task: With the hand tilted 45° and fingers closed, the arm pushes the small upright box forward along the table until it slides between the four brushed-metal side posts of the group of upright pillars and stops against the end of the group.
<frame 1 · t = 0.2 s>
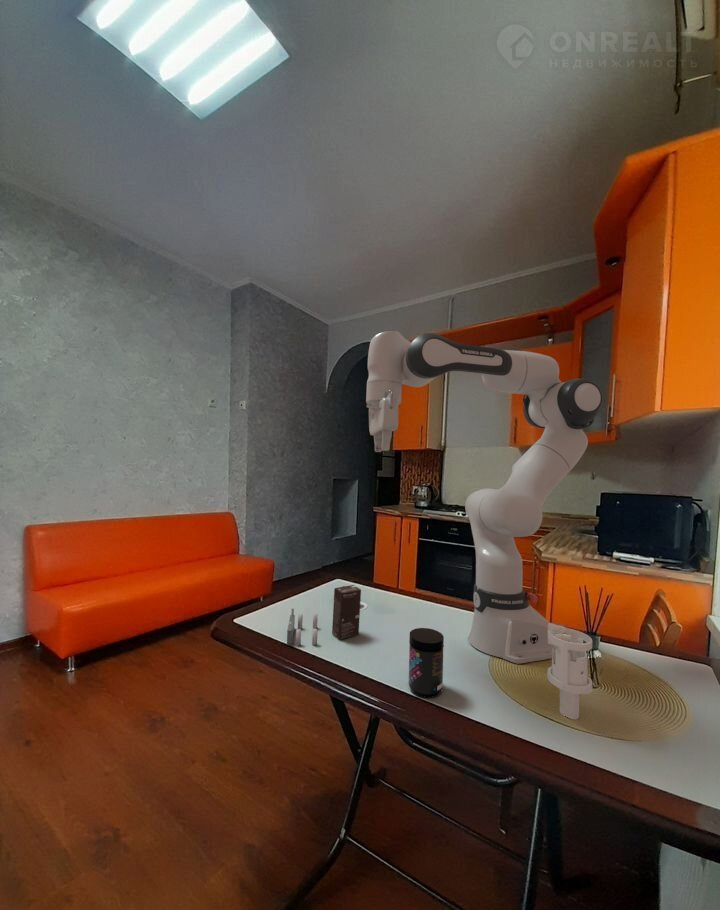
hand: (381, 451, 90), 48 cm above the table, tool pointing down, fingers open, 8 cm apart
teacup and saucer: (358, 604, 117), on the table
strainer: (569, 714, 65), on the table
box: (345, 636, 93), on the table
supplement container: (425, 689, 71), on the table
group of upright pillars: (306, 636, 92), on the table
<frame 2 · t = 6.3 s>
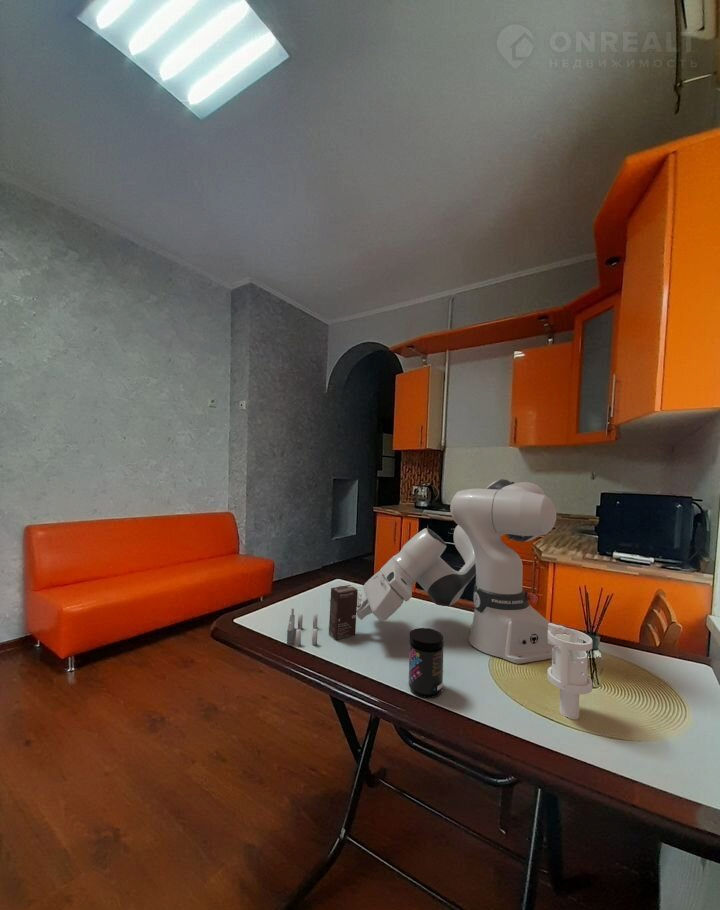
hand: (358, 615, 94), 5 cm above the table, tool tilted 45°, fingers closed
box: (342, 636, 93), on the table, touching gripper
everything else where it was.
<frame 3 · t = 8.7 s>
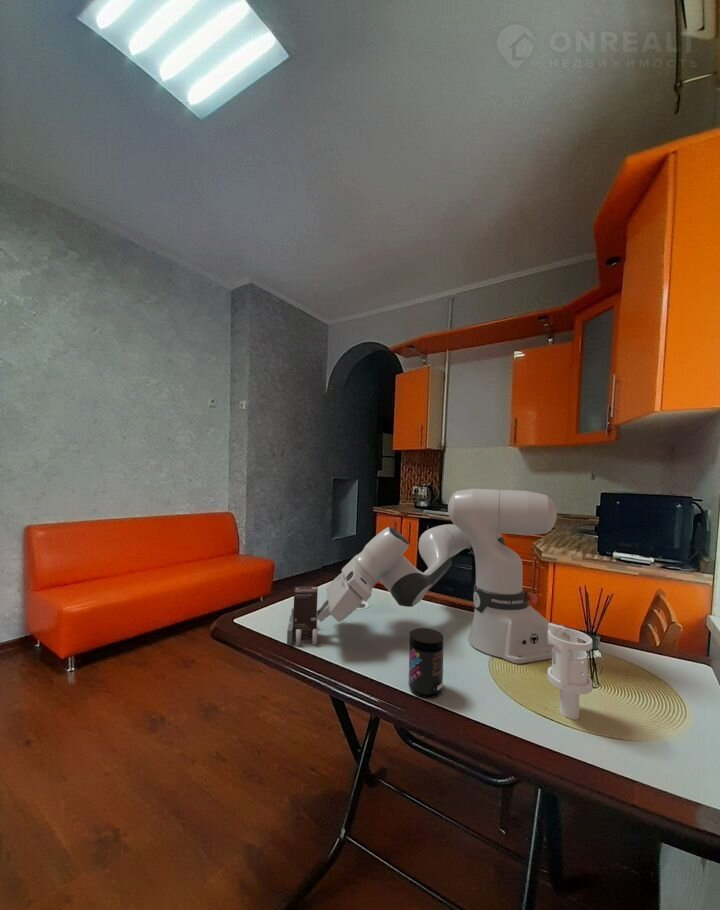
hand: (318, 617, 92), 5 cm above the table, tool tilted 45°, fingers closed, pressing on box
box: (304, 637, 92), on the table, touching group of upright pillars, gripper
everything else where it was.
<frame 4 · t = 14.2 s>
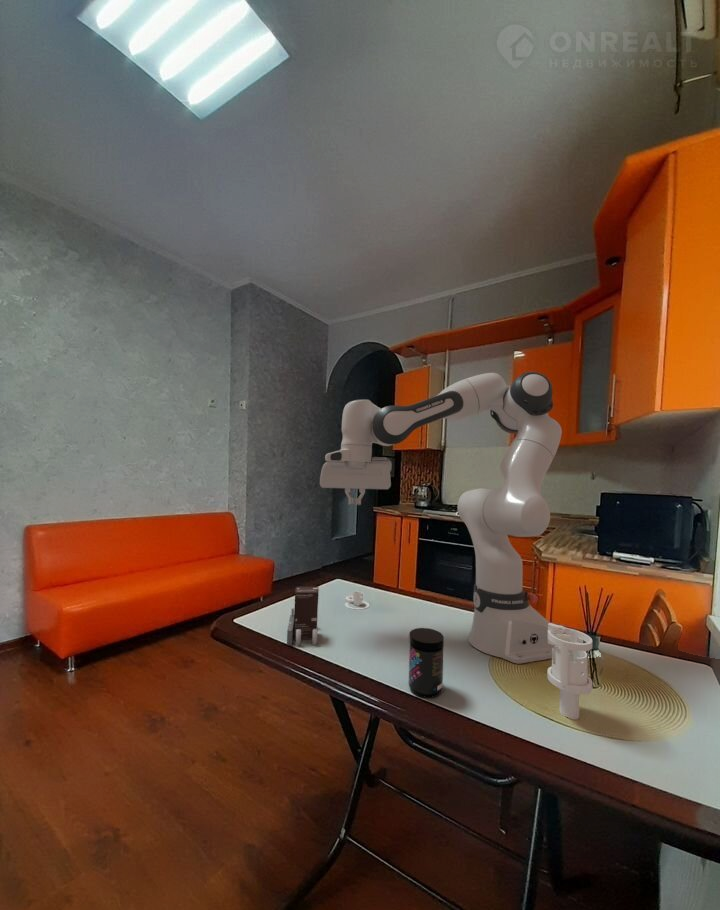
hand: (354, 504, 102), 33 cm above the table, tool pointing down, fingers closed
box: (305, 637, 92), on the table
at the end: box inside the target area on the group of upright pillars (1.3 cm from its centre), point 0.0 cm above the group of upright pillars's base; box tilted 0°; box moved 10.5 cm from its start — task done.
